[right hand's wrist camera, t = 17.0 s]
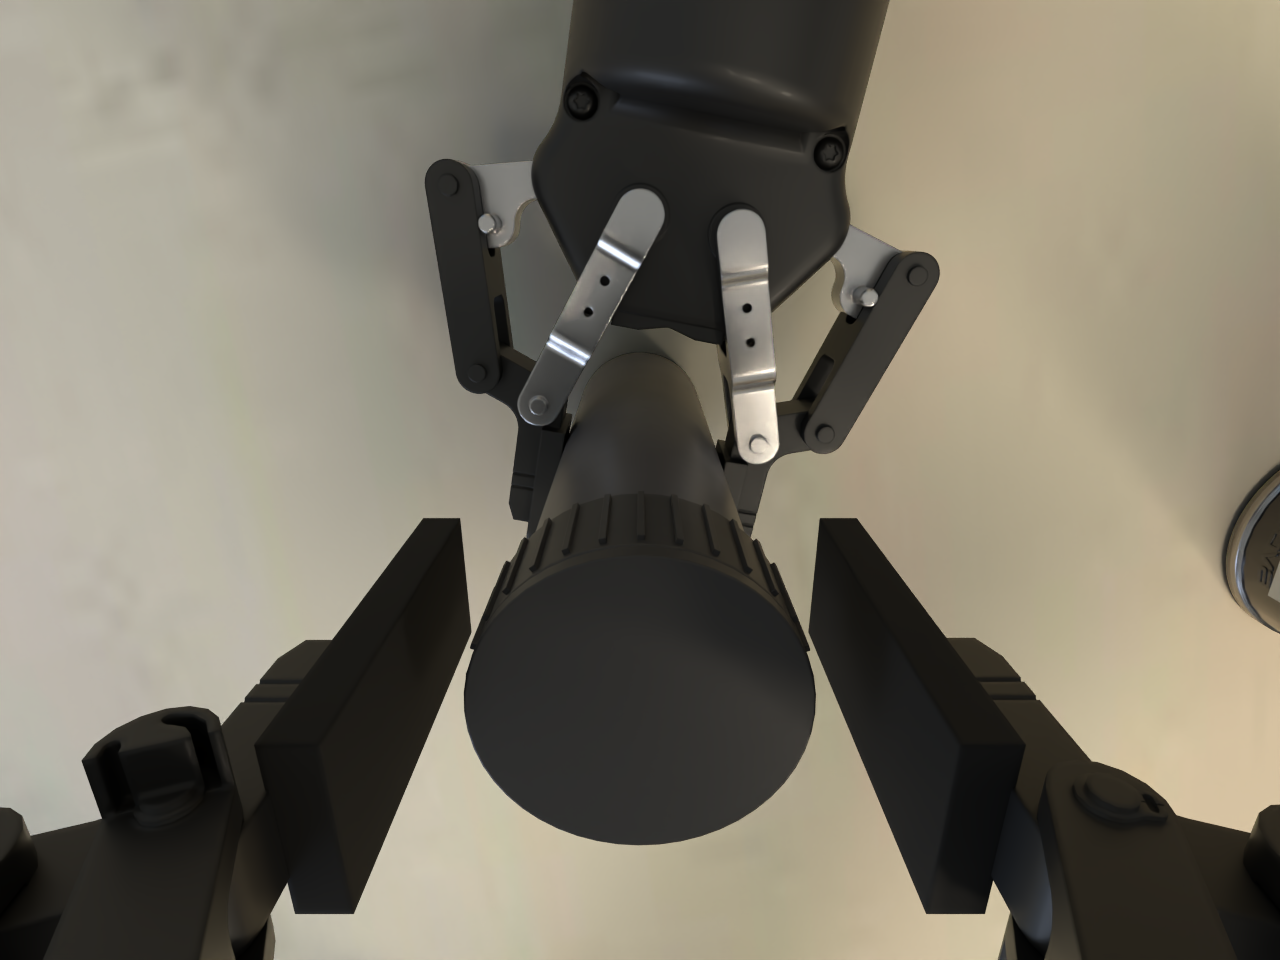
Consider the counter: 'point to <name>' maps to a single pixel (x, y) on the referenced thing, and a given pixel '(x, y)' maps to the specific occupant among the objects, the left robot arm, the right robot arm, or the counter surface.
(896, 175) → the counter surface
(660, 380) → the jar
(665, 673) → the lid
